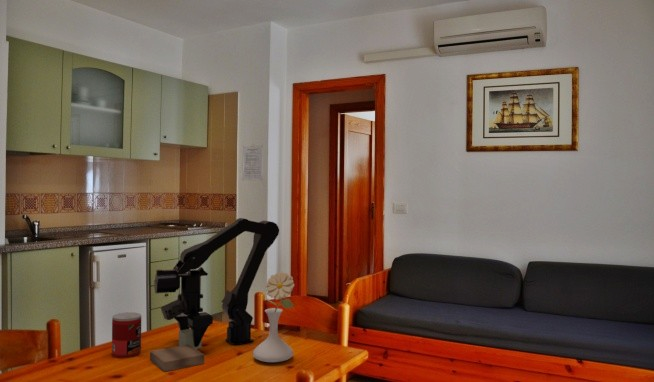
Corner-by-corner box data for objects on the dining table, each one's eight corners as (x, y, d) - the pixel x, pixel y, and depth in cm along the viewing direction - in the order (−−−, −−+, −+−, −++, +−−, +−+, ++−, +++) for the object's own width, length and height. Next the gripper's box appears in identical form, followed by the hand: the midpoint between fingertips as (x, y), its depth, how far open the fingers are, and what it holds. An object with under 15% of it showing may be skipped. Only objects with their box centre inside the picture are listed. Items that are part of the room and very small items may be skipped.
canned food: (131, 359, 143) (131, 319, 143) (105, 356, 144) (106, 317, 144) (146, 350, 150) (146, 313, 150) (121, 348, 152) (122, 311, 152)
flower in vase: (244, 360, 143) (245, 270, 143) (272, 350, 152) (273, 266, 152) (278, 370, 136) (280, 276, 135) (306, 359, 145) (307, 271, 144)
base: (187, 352, 149) (188, 344, 149) (203, 363, 140) (204, 354, 140) (149, 360, 142) (149, 351, 142) (164, 371, 133) (164, 362, 133)
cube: (194, 344, 157) (194, 328, 157) (201, 348, 153) (201, 331, 153) (178, 347, 154) (178, 330, 154) (185, 351, 150) (185, 334, 150)
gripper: (153, 288, 156) (152, 339, 156) (176, 299, 141) (175, 356, 141) (188, 284, 163) (187, 334, 163) (214, 295, 148) (213, 349, 148)
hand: (190, 342), depth 154 cm, fingers open, 9 cm apart
